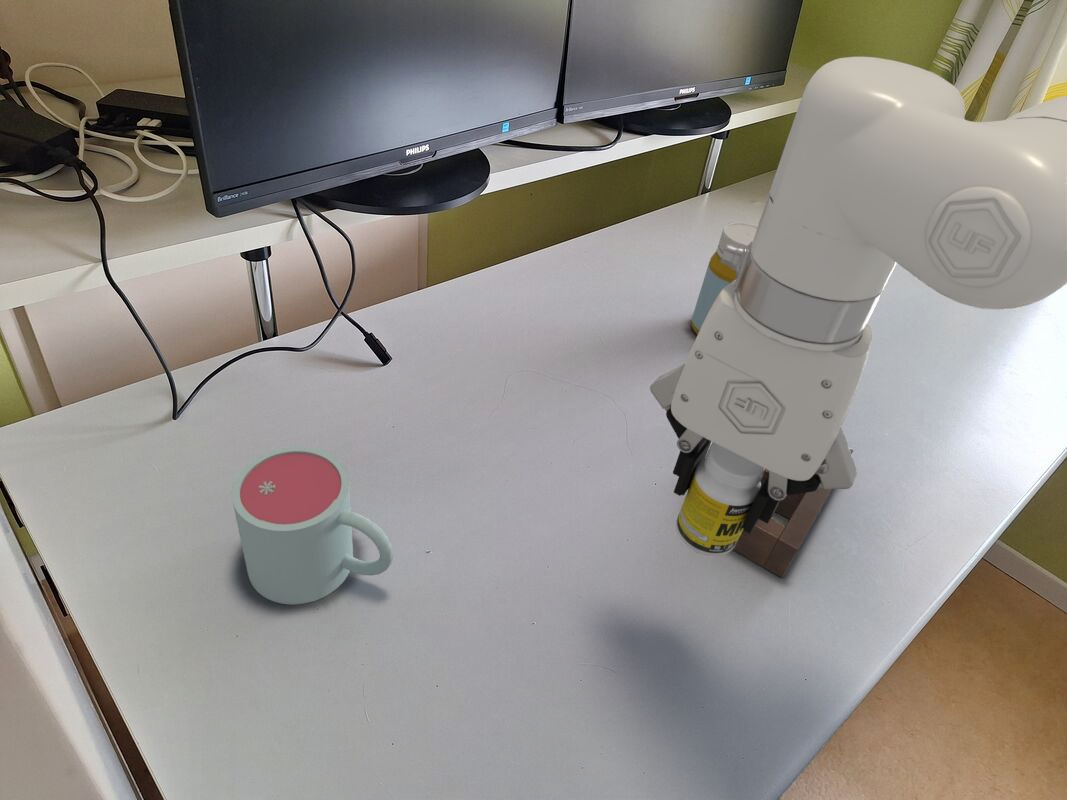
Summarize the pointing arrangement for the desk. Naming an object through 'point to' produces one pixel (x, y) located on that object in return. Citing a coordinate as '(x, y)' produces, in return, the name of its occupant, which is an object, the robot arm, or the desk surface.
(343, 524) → the mug
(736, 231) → the bottle
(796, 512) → the holder
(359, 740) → the desk surface
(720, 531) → the supplement bottle
